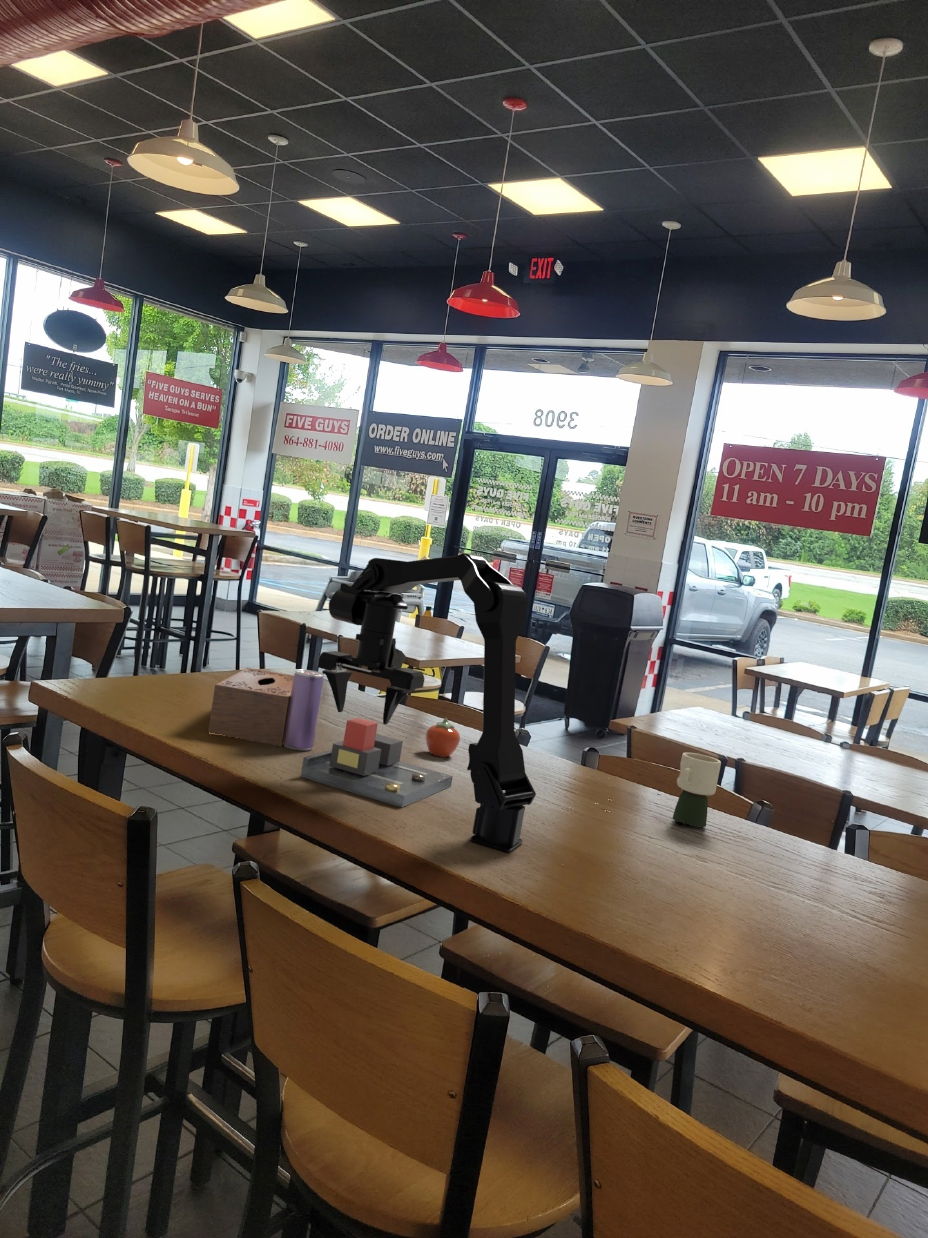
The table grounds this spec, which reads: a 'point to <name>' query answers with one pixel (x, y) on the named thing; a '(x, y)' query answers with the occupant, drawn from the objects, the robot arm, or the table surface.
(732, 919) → the table surface
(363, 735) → the cap
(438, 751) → the tomato
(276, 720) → the tissue box cover
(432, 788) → the breaker panel
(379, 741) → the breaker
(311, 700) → the beverage can
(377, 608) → the robot arm
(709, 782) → the character mug
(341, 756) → the block
